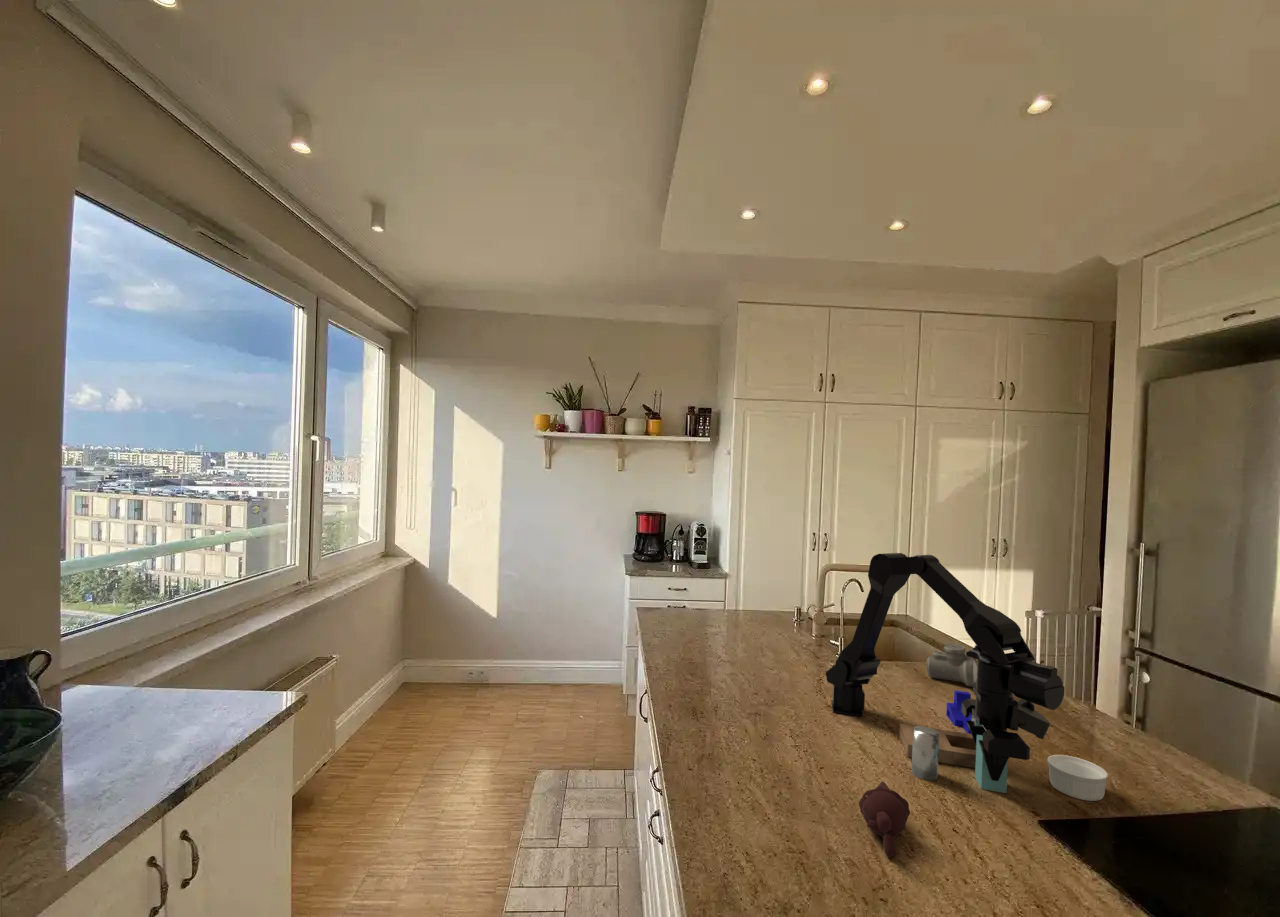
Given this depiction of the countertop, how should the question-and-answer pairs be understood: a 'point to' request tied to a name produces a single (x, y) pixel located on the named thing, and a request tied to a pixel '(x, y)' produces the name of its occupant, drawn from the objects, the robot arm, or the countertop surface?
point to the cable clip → (959, 710)
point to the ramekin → (1077, 777)
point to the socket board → (945, 746)
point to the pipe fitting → (953, 665)
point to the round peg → (925, 753)
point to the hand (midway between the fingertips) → (990, 773)
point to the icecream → (885, 814)
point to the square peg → (983, 773)
